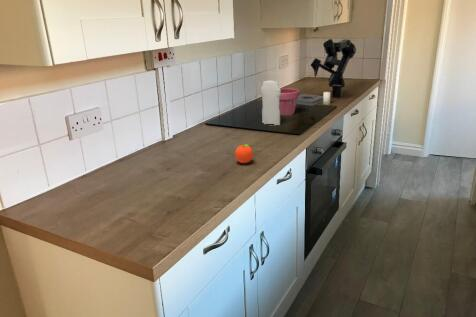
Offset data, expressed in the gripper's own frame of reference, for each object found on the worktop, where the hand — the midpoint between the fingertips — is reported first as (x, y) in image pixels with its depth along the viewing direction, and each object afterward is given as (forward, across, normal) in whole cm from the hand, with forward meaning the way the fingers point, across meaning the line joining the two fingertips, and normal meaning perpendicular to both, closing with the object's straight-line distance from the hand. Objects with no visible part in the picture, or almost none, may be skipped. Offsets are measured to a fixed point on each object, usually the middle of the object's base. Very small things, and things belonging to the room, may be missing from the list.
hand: (322, 80), depth 232 cm
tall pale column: (+47, -19, -13) cm, 53 cm away
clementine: (+85, -27, -50) cm, 102 cm away
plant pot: (+30, -12, 0) cm, 33 cm away
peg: (+8, +10, +8) cm, 15 cm away
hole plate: (+7, 0, +17) cm, 18 cm away
